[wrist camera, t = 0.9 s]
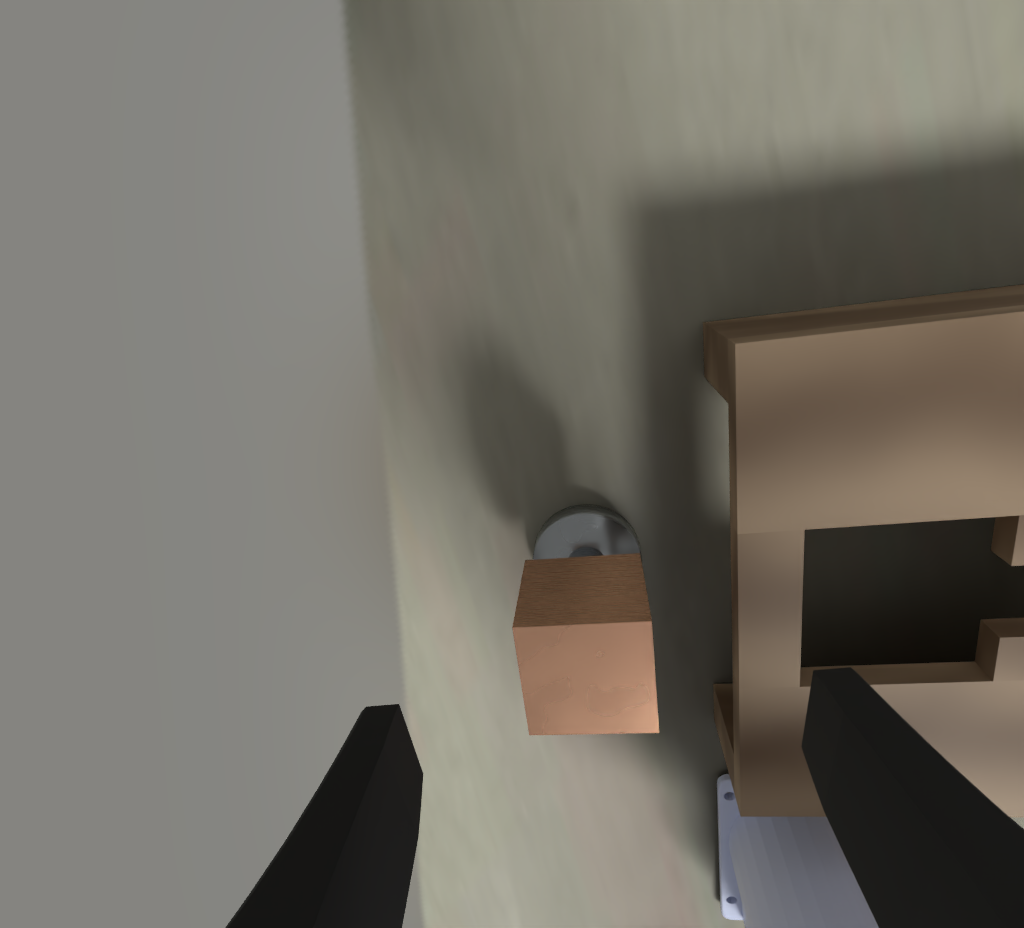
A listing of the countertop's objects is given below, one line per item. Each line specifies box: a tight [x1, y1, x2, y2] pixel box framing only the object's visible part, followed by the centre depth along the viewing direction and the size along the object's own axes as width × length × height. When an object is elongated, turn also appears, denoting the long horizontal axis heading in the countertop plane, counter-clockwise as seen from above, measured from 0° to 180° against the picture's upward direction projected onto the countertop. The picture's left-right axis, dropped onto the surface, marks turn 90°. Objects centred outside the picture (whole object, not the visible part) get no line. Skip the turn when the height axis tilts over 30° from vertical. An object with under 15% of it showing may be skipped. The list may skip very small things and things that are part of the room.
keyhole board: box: [703, 284, 1024, 817], centre depth 21 cm, size 18×16×5 cm
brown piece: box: [512, 505, 659, 735], centre depth 22 cm, size 4×4×8 cm
